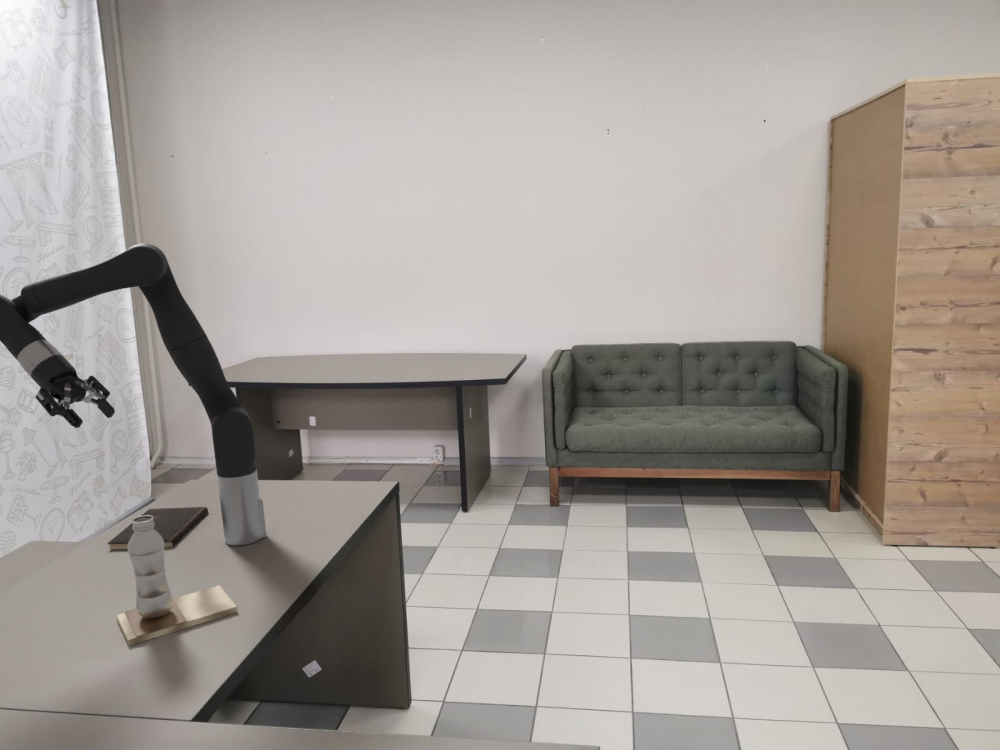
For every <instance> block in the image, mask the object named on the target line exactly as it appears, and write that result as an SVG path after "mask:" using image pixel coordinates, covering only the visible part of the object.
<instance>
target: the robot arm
mask: <svg viewBox="0 0 1000 750" xmlns="http://www.w3.org/2000/svg"><path fill="white" fill-rule="evenodd" d="M135 287H138V288H139V289H140V291H141V292H142V294H143V296H144V297H145V299H146V300H147V302H148V303H149V306H150V308H151V311H152V313H153V315H154V316H153V317H154V318H155V321H156V325H157V328H158V330H159V334H160V337H161V339H162V342H163V345H164V346H165V349H166V350H167V352H168V355H170V358H171V359H172V361H173V363H174V365H175V367H176V368H177V370H178V371H179V373H180V374H181V376H182V377H183V378H184V379H185V381H186V382H187V384H189V386H190V387H191V388H192V389H193V390H194V392H195V393H196V395H197V396H198V397H199V400H200V401H201V404H202V406H203V408H204V410H205V412H206V414H207V415H206V416H207V417H208V419H209V422H210V426H211V437H212V443H213V444H212V446H213V450H214V452H213V453H214V460H215V462H214V463H215V469H216V475H217V476H216V477H217V485H218V487H217V488H218V494H219V501H220V509H221V511H220V512H221V520H222V528H223V536H224V538H223V539H224V542H225V544H227V545H229V546H245V545H251V544H254V543H256V542H259V541H260V540H262V539H263V538H266V537H267V536H268V535H267V530H266V529H267V528H266V519H265V508H264V501H263V499H261V498H260V487H259V478H258V469H257V455H256V454H257V453H256V445H255V433H254V425H253V422H252V418H251V417H250V415H249V413H248V411H247V410H246V408H245V407H244V406H243V405H242V403H241V402H240V400H239V399H238V397H237V396H236V394H235V393H234V391H233V389H232V388H231V386H230V385H229V383H228V381H227V379H226V377H225V374H224V371H223V368H222V365H221V363H220V361H219V358H218V356H217V353H216V352H215V348H214V346H213V345H212V343H211V341H210V339H209V338H208V336H207V333H206V332H205V330H204V329H203V326H202V325H201V323H200V322H199V320H198V318H197V317H196V315H195V313H194V312H193V310H192V309H191V307H190V305H189V304H188V303H187V301H186V300H185V298H184V296H183V294H182V292H181V291H180V288H179V286H178V284H177V281H176V279H175V276H174V274H173V272H172V270H171V267H170V264H169V261H168V258H167V256H166V255H165V253H164V251H163V250H161V249H160V248H159V247H158V246H155V245H154V244H151V243H147V242H146V243H145V242H143V243H142V242H141V243H138V244H134V245H131V246H130V247H128V248H127V249H125V250H124V251H123V252H121V253H119V254H117V255H115V256H113V257H112V258H109V259H107V260H105V261H103V262H100V263H98V264H95V265H92V266H89V267H86V268H82V269H79V270H78V269H77V270H75V271H70V272H69V271H68V272H66V273H62V274H58V275H55V276H52V277H48V278H44V279H40V280H38V281H34V282H32V283H29V284H27V285H25V286H23V287H22V288H21V290H20V295H18V296H15V297H14V298H11V299H8V298H7V296H4V295H3V294H2V293H0V342H1V343H2V344H3V346H4V347H5V348H6V350H8V352H9V353H10V355H12V356H13V357H14V359H15V360H17V362H18V363H19V364H20V365H21V368H22V369H23V370H24V371H25V372H26V373H27V374H28V376H29V377H31V379H32V380H33V381H34V383H36V384H37V386H38V387H39V390H38V392H37V393H36V395H35V399H36V400H37V401H38V403H39V404H40V405H41V406H42V408H43V409H44V410H45V411H46V413H47V414H49V416H51V417H55V416H60V417H62V418H64V420H65V421H66V422H68V424H69V425H70V426H72V427H74V428H75V429H78V428H80V427H81V426H82V425H83V422H84V421H83V419H82V418H81V417H80V416H79V415H78V413H77V412H76V411H74V409H73V408H71V405H72V404H74V403H79V402H80V403H81V402H83V403H86V404H89V403H91V404H93V405H94V406H96V407H97V409H99V410H100V411H101V412H102V414H104V416H105V417H106V418H108V419H110V418H112V417H113V416H114V415H115V413H116V411H115V408H114V406H113V405H112V404H110V402H109V401H108V400H107V399H108V398H109V396H110V395H111V391H109V390H108V389H107V388H106V387H105V385H103V384H102V383H101V382H100V381H99V380H98V379H97V378H96V377H95V376H94V375H89V377H88V378H87V379H82V378H80V377H79V376H78V374H77V370H76V368H75V367H74V366H73V365H72V364H71V363H70V361H69V360H68V359H66V357H65V356H64V355H63V354H62V353H61V351H59V350H58V349H57V347H55V346H54V345H53V344H52V343H51V342H50V341H49V340H47V339H46V338H45V337H44V336H43V334H42V333H41V332H40V331H39V330H38V329H37V328H36V327H35V326H33V325H32V324H31V322H32V321H35V320H37V319H38V317H40V316H43V315H46V314H50V313H52V312H56V311H59V310H61V309H65V308H67V307H71V306H73V305H75V304H79V303H81V302H83V301H86V300H89V299H92V298H95V297H97V296H100V295H103V294H106V293H110V292H114V291H118V290H124V289H129V288H130V289H131V288H135ZM87 393H89V394H88V395H87ZM56 400H57V401H56Z"/></svg>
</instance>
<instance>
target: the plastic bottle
mask: <svg viewBox="0 0 1000 750" xmlns="http://www.w3.org/2000/svg"><path fill="white" fill-rule="evenodd" d="M131 523H133V527H132V528H133V531H135V532H134V534H133V535H132V537H131V539H130V541H129V543H128V549H127V551H128V555H129V558H130V561H131V564H132V569H133V573H134V577H135V586H136V588H135V589H136V595H135V596H136V598H135V609H136V608H137V611H138V614H139V615H140V616H141V617H143V618H145V619H154V618H159V617H162V616H164V615H166V614H168V613H169V612H170V610H171V608H172V606H173V599H174V598H173V595H172V591H171V589H170V588H169V583H168V580H167V575H166V566H165V564H166V563H165V547H164V540H163V538H162V536H161V535H160V534H159V533H158V532H157V531H156V530H154V529H153V527H154V526H155V524H154V521H153V517H152V516H149V515H146V516H141V515H140V516H136V517H134V518H133V519H132V522H131Z"/></svg>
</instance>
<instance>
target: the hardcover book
mask: <svg viewBox="0 0 1000 750" xmlns="http://www.w3.org/2000/svg"><path fill="white" fill-rule="evenodd" d="M207 514H209V509H208V507H207V506H193V507H191V506H190V507H167V508H166V507H165V508H163V507H161V508H148V509H147V510H146V511H145V512H143V514H141V515H140V516H146V515H149V516H152V517H153V521H154V524H155V526H154V527H153V529H154V530H156V531H157V532H158V533H159V534H160V535H161V536H162V538H163V540H164V548H174V547H176V545H178V544H179V542H180V541H181V540H183V538H184V537H186V535H187V534H188V533H190V532H191V530H192V529H194V528H195V527H196V525H197V524H199V523H200V522H201V520H203V518H205V516H206V515H207ZM132 527H133V523H132V522H131V523H130V524H129V525H128V526H127V527H125V528H124V529H123V530H121V531H120V532H119V533H118V534H117V535H115V536H114V537H113V538H112V539H110V541H108V542H107V545H109V550H128V543H129V541H130V539H131V537H132V535H133V534H134V532H135V531H133V528H132Z"/></svg>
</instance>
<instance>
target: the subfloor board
mask: <svg viewBox="0 0 1000 750" xmlns="http://www.w3.org/2000/svg"><path fill="white" fill-rule="evenodd" d="M235 613H238V608H237V605H236V604H235V602H234V601H233V599H232V598H231V597H230V596H229V595H228V594H227V592H226V591H225V590H224V589H223V587H222V586H221V585H216V586H212V587H209V588H206V589H201V590H199V591H195V592H191V593H188V594H185V595H182V596H177V597H175V598H173V606H172V608H171V610H170V612H169V613H168V614H166V615H164V616H162V617H159V618H154V619H145V618H143V617H141V616H140V615H139V614H138V611H137V608H136V607H135V608H133V609H130V610H126V611H124V612H123V613H120V614H117V615H116V621H117V624H118V625H119V627H120V630H121V632H122V634H123V637H124V638H125V641H126V643H127V644H128V646H129V647H130V646H133V645H136V643H137V644H139V642H140V643H142V641H143V642H146V641H150V640H152V638H153V639H155V637H156V638H159V637H162V636H165V635H169V634H172V633H174V632H178V631H181V630H185V629H187V628H190V627H194V626H196V625H197V626H198V625H200V624H201V625H202V624H203V623H207V622H209V621H213V620H217V619H220V618H222V617H225V616H228V615H232V614H235ZM149 639H150V640H149ZM145 640H146V641H145Z"/></svg>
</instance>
